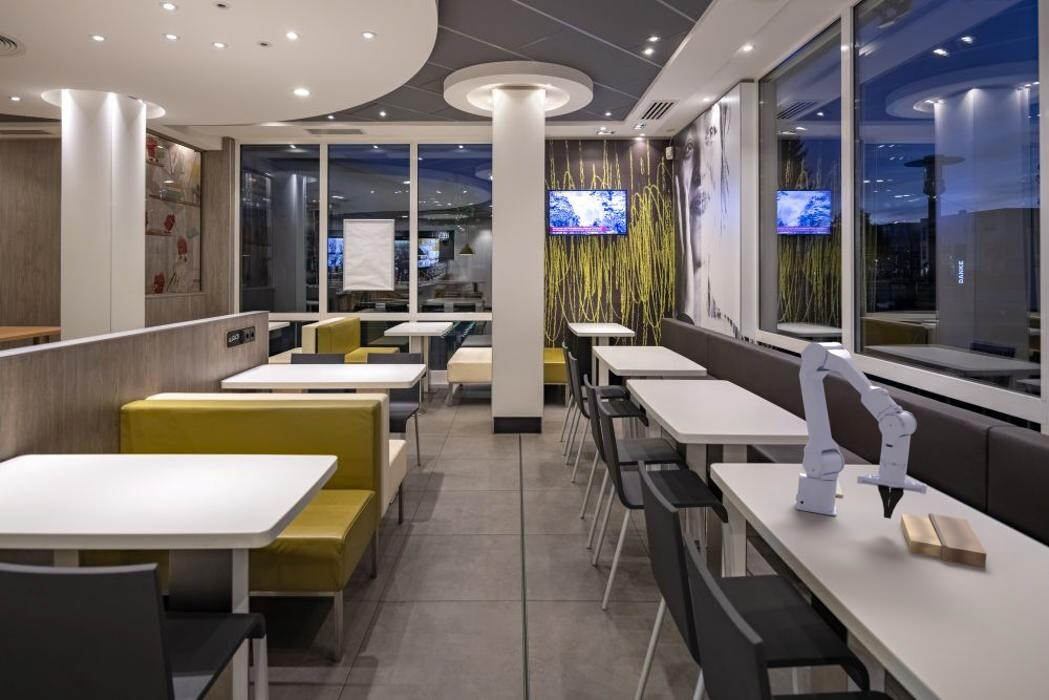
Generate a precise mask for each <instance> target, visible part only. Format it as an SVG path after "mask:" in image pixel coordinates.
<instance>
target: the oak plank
mask: <svg viewBox="0 0 1049 700" xmlns="http://www.w3.org/2000/svg"><path fill="white" fill-rule="evenodd" d="M900 526H901V529H902V532H903V535H904V539H905V542H906V545H907V548H908V550H909V552H911V553H915V554H921V555H927V556H932V557H937V558H941V548H942V545H941V543H940V541H939V539H938V537H937V534H936V532H935V530H934V528H933V526H932V524H931V521H930V519H929V518H928V517H923V516H915V515H910V514H904V513H903V514H902V513H901V516H900Z"/></svg>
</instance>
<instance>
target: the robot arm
mask: <svg viewBox="0 0 1049 700" xmlns="http://www.w3.org/2000/svg"><path fill="white" fill-rule="evenodd" d="M800 357H801V365H800V370H799V372H798V373H799V376H798V377H799V382H800V389H801V395H802V401H803V408H804V416H805V422H806V428H807V434H808V442H807V443H806V445H805V447H804V448H803V454H804V456H803V459H802V464H803V465H802V468H803V470H804V471H805V473H801V472H800V473H799V476H798V485H797V493H795V495H796V496H795V501H796V508H795V509H796V510H798V511H799V510H800V511H803V512H804V511H805V512H811V513H816V514H817V513H818V514H823V515H829V516H834V517H835V516H837V506H836V498H837V497H836V488H837V477H838V478H839V473H841V472H842V471H843V470H844V468H845V465H846V464H845V461H846V460H845V457H844V456H843V454H842V453H841V451H840V446H839V444H838V443H837V442H836V441H835V440H834V439H833V438H832V432H831V426H830V425H831V424H830V419H829V414H828V407H827V401H826V392H825V389H824V388H825V387H824V382H823V380H824V378H825V377H826V376H827V375H828V374H829V372H831V371H832V372H833V371H834V372H837V373H840V374H841V375H842V376H843V377H844V378H845V380H846V381H847V382H849V383H850V385H851V386H852V387H853V388H854V389H855V390H856V391H857V392H859V394H860V395H861V397H860V402H861V403H862V404H863V406H864V407H865V408H866V409H867V410H868V411H869V412H870V413H871V414H872V416H873V417H874V418H875V419H876V420H877V422H878V429H879V431H880V433H881V436H882V438H881V448H880V449H881V452H880V456H879V457H880V459H879V468H878V474H877V475H875V474H874V475H873V474H863V473H861V474H859V473H857V477H856V484H859V485H862V484H864V485H870V486H875V487H877V489H878V492H879V495H880V498H881V502H882V507H883V518H885V519H889V520H891V518H892V515H893V512H894V510H895V509H896V506H898V503H899V502H900V500H902V498H903V496H904V495H905V492H904V491H906V492H907V491H908V492H913V493H914V492H915V493H920V494H923V495H926V494H927V488H928V486H927V484H926V483H921V482H917V481H911V480H907V479H906V477H907V469H908V462H909V454H910V453H909V452H910V444H911V435H912V434H914V432H916V430H917V425H918V423H917V422H918V421H917V419H916V418H915V416H914V415H913V413H912V412H909V411H906V410H903V407H902V406H901V405H898V404H897V403H896V401H894V399H893V398H892V397H891V396H890V395H889V394H890V392H889V391H888V390H887V389H884V388H882V387H881V386H874V385H873V384H872V382H871V381H870V380H869V379H868V377H867V376H866V375H865V374H864V372H863V371H862V370H861V369H860V368H859V366H858V365H857V363H856V362H855V361H854V360H853V358H852V356H851V353H850V351H849V350H847V349H845V347H844V345H843V344H842V343H840V342H836V341H832V342H810V343H809V344H807V345H806V347H804V349H803V350H802V351H801V352H800Z"/></svg>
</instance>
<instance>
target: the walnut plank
mask: <svg viewBox="0 0 1049 700" xmlns="http://www.w3.org/2000/svg"><path fill="white" fill-rule="evenodd" d="M927 518H929V519H930V521H931V524H932V526H933V528H934V530H935V532H936V534H937V537H938V539H939V541H940V543H941V545H942V548H941V557H940V559H941V560H944V561H950V562H953V563H958V564H959V563H960V564H964V565H970V566H976V567H981V568H986V562H987V561H986V560H987V552H986V550H985V549H984V546H983V545H982V544H981V542H980V540H979V539H978V537H977V535H976V534H975V532H974V530H973V528H972V526H971V525H970V523H969V521H968V520H967V519H966V518H959V517H952V516H946V515H941V514H940V515H939V514H934V513H931V512H928V517H927Z"/></svg>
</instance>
